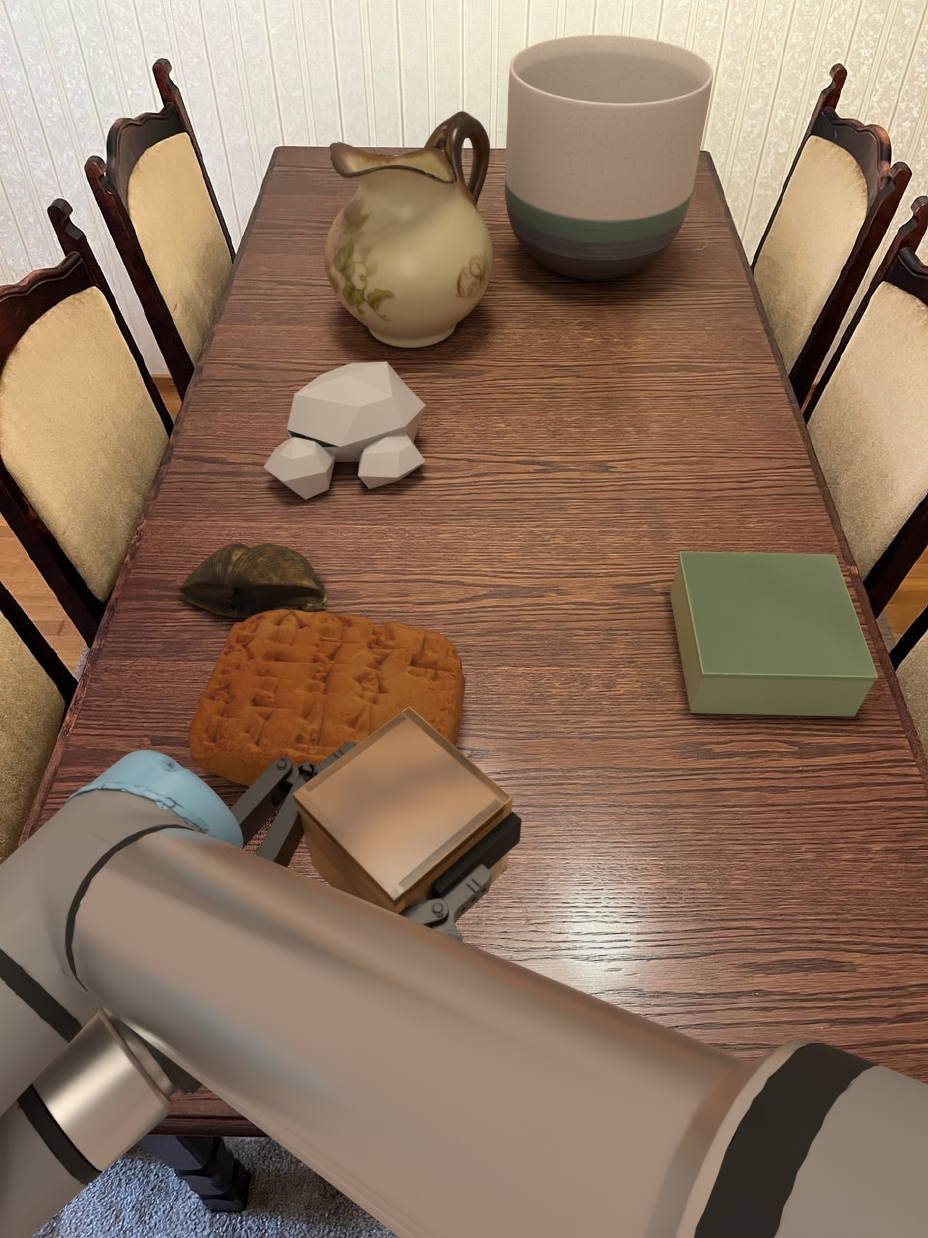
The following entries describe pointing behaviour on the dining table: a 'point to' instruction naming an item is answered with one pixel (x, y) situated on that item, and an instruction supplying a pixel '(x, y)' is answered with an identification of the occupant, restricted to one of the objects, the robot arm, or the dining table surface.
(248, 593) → the seashell
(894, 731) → the dining table surface
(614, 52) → the planter
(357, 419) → the rock
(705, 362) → the dining table surface
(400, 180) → the pitcher
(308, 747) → the cuneiform tablet
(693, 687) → the green box
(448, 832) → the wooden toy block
